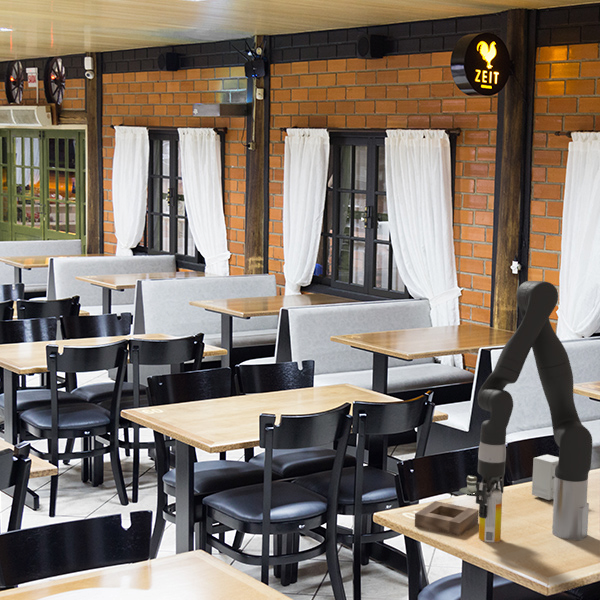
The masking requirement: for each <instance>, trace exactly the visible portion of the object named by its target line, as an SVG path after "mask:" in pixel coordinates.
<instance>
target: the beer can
mask: <svg viewBox="0 0 600 600" xmlns="http://www.w3.org/2000/svg"><path fill="white" fill-rule="evenodd" d="M489 493H490V492H486V494H489ZM482 500H483V499H482ZM502 509H503V494H502V493H501V490H500V489H496V490H494V491H493V494H492V498H491V499H489V502H488V510H487V518H480V517H479V516H478V539H479V540H480V541H482V542H485V543H498V542H500V541H501V537H502V536H501V535H502V513H503V512H502Z"/></svg>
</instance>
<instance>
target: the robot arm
mask: <svg viewBox="0 0 600 600" xmlns="http://www.w3.org/2000/svg"><path fill="white" fill-rule="evenodd" d="M558 301H559V292H558V289H557V288H556V286H555V285H554V284H553V283H551V282H549V281H544V280H527V281H524V282H523V283H521V284H520V285H519V287H518V289H517V291H516V303H517V305H518V309H519V311H520V314H521V317H522V320H521V322H520V325H518V328H517V329H516V330H515V331H514V333H513V334H512V336H511V337H510V338H509V340H508V341H507V342H506V343H505V345H504V346H503V349H502V350H501V352H500V355H499V357H498V359H497V361H496V364H495V366H494V369H493V371H492V372H491V373H490V374H489V375H488V377H487V378H486V379H485V381H484V382H483V384H482V385H481V386H480V389H479V391H478V393H477V404H478V406H479V408H481V409H482V410H484V411H486V412H489V413H490V417H489V419H486V420H484V421H482V423H481V425H480V437H479V445H478V458H477V460H478V461H477V473H478V474H479V475H480V476H482V480H481V482H480V481H479V482H476V488H477V491H476V495H475V504H477V505H478V507H479V508H478V510H479V512H478V518H479V517H480V518H487V510H488V502H489V499H491V498H492V494H493V491H494V490H496V489H500V490H501V493H502V495H503V494H504V488H505V487H504V486H505V485H504V482H505V481H504V480H505V474H506V461H507V460H506V459H507V448H506V447H507V445H506V443H507V441H506V440H507V429H508V425H509V424H510V419H511V417H512V412H513V409H514V400H513V396H512V394H511V393H510V392H509V391H507V390H505V388H506V386H507V385H509V384H510V385H511V384H515V383H516V382H517V381H518V380H519V377H520V375H521V372H522V370H523V368H524V365H525V362H526V361H527V358H528V356H529V354H530V352H531V349H532V353H533V356H534V360H535V365H536V369H537V374H538V376H539V377H538V378H539V380H540V383H541V387H542V390H543V394H544V396H545V399H546V401H547V404H548V407H549V408H548V409H549V413H550V419H551V426H552V433H553V437H554V442H555V444H556V445H557V446H558V448H559V449H558V450H559V451H558V457H559V462H558V465H557V466H556V467H555V480H554V499H553V504H552V506H553V508H552V526H551V529H552V532H551V533H552V535H553V536H555V537H557V538H559V539H565V540H571V541H574V540H576V541H577V540H578V541H582V540H583V539H585V538H586V537H587V536H588V530H589V529H588V526H589V512H590V511H589V510H590V509H589V507H590V504H589V502H588V487H589V486H588V484H589V483H588V482H589V474H590V470H591V467H592V456H593V437H592V434H591V432H590V430H589V429H588V428H587V427H586V426H584V425H583V424H582V421H581V419H580V416H579V414H578V411H577V408H576V404H575V401H574V400H575V399H574V374H573V370H572V366H571V365H572V364H571V363H570V357H569V355H568V352H567V350H566V348H565V346H564V345H563V343H562V341H561V340H560V338H559V337H558V335H557V333H556V332H555V330H554V328H553V326H552V324H551V321H550V316H551V315H552V313H553V311H554V310H555V308H556V306H557V303H558ZM486 492H490V493H489V494H486ZM482 499H483V500H482Z"/></svg>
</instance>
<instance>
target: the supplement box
mask: <svg viewBox="0 0 600 600" xmlns="http://www.w3.org/2000/svg"><path fill="white" fill-rule="evenodd" d="M532 462H533V463H532V464H533V465H532V481H531V482H532V484H531V485H532V486H531V495H532V496H535V497H539V498H542V499H545V500H547V501H550V500H554V480H555V467H556V466H557V465H558V462H559V456H554V455H551V454H543V455H540V456H537V457H533V461H532Z"/></svg>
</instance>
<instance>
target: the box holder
mask: <svg viewBox="0 0 600 600" xmlns="http://www.w3.org/2000/svg"><path fill="white" fill-rule="evenodd" d="M477 525H479V509H476V508H473V507H466V506H463V505H461V506H460V505H458V504H457V505H456V504H452V503H447V502H442V501H436V500H435V501H433V502H431V503H430V504H428V505H427V506H425V507H423V508H422V509H420V510H419V511H417V512H415V513H414V527H415V528H422V529H426V530H430V531H435V532H439V533H443V534H450V535H452V536H453V535H454V536H458V537H459V536H461V535H463V534H464V533H466V532H467V531H469V530H470V529H472V528H473V527H475V526H477Z"/></svg>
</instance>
